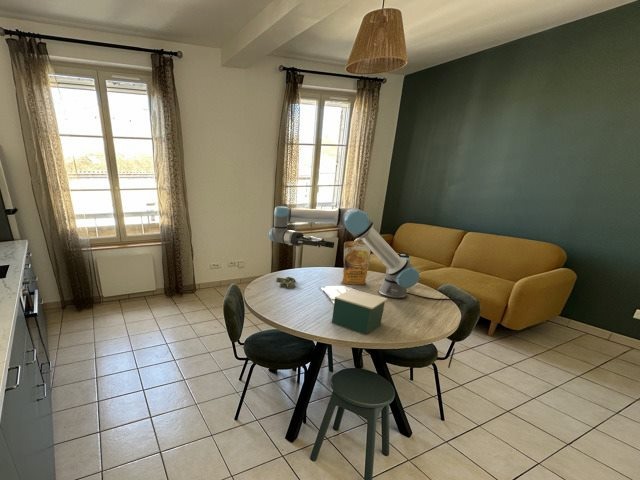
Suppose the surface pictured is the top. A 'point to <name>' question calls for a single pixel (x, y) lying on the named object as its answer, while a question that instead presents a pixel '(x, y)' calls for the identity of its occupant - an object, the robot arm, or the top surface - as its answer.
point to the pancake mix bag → (355, 262)
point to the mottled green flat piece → (289, 285)
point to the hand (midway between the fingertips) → (333, 245)
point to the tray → (335, 291)
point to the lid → (361, 298)
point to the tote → (356, 316)
